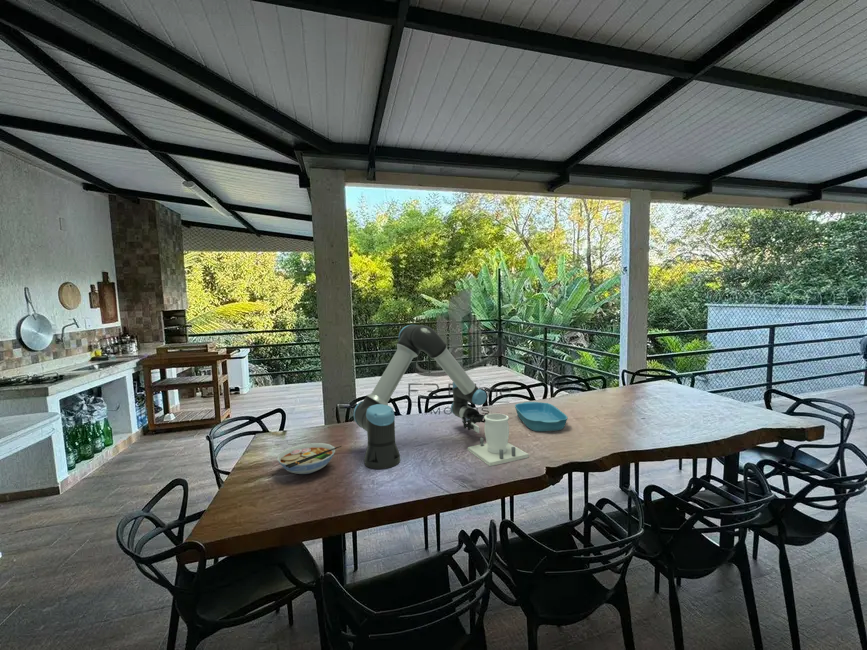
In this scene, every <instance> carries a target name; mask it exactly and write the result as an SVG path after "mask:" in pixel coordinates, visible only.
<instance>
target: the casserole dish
mask: <svg viewBox="0 0 867 650" xmlns="http://www.w3.org/2000/svg"><path fill="white" fill-rule="evenodd" d="M514 407H515V410H516V411H515V412H516V415H517V416H518V417H519V419H520V420H521V421H522V422H523V424H524V425H525V426H526V427H527V428H528V429H530V430H531V431H533V432H555V431H556V432H557V431H561V430H563V429H564V428H565V426H566V425H567V421H568V416H567V414H566V413H564V412H563V411H561V410H560V409H559V408H557V406H555V405H554V404H552V403H548V402H539V401H524V402H520V403H516V404H515V405H514Z"/></svg>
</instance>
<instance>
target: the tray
mask: <svg viewBox="0 0 867 650" xmlns="http://www.w3.org/2000/svg"><path fill="white" fill-rule="evenodd" d="M484 442H485V439H484V437H480V438H479V444H476V445H471V446H468V447H467V451H468V452H470V453H471V454H473V456H475V457H477V458H478V459H479V460H481V461H482V462H483V463H485V464H486V465H487V466H488V467H494V466H497V465H501V464H505V463H510V462H511V463H512V462H515V461H519V460H524V459H529V453H528V452H525V451H523V450H522V449H521V448H519V447H516V446H515V445H513V444H511V443H509V442H508V443H507V446H506V448H507V451H506V452H505V453H503V450H502V449H500V450H499V454H495V453H491V452H489V451H488V450H487V448H488V445H487V442H485V443H484Z"/></svg>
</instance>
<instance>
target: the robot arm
mask: <svg viewBox="0 0 867 650" xmlns="http://www.w3.org/2000/svg"><path fill="white" fill-rule="evenodd" d="M396 348H397V349H396V351H395V352H394V354H393V356H392V358H391V360H390V361H389V363H388V365H387V366H386V368H385V369H384V372H383V373H382V375H381V376H380V378H379V380H378V381H377V383H376V385H375V386H374V388H373V390H372V392H371V393H368V394H366V395H365V398H364V399H363V401H359V402H358V403H357V404H356V405H355V407H354V410H353V414H352V415H353V419H354V422H355V423H356V425H357V426H358V427H360V428H361V429H363V430H364V431H366V433H367V434H366V435H367V446H366V447H367V448H366V451H365V454H364V459H363V461H364V465H365V466H366V467H367V468H370V469H373V470H374V469H375V470H381V469H382V470H384V469H389V468H392V467H396V466H397V465H398V464H399V463H400V462H401V455H400V451H399V449H398V446H397V442H396V427H395V426H396V424H395V423H396V421H395V417H396V415H395V411H394V408H393V407H392V406H390V405H389V404H388V402H389V401H390V399H391V397H392V396H393V394H394V392H395V390H396V388H397V387H398V385H399V383H400V381H401V380H402V378H403V376H404V375H405V373H406V371H407V370H408V368H409V367H410V364H411V363H412V360H413V359H414V358H418V356H419V355H420V354H421V351H422V352H424V353H425V354H426V355H427V356H428V357H429V358H430V359H434V361H435V362H436V363H437V365H439V367H440V368H441V369H442V370H443V371H444V373H445V375H447V377H448V378H449V379H450V380H451V381H452V397H453V402H452V403H451V405H450V411H451V413H452V414H453V415H454V416H456V417H458V418H460V419H461V422H462V425H463V429H467V430H468V431H470V430H472V431H474V432H476V433H478V434H479V433H480V426H479V425H477V423H482V424H483V423H484V424H485V419H484V416H485V415H488V414H489V413H487V412H485V413H484V414H481V413H480V412H479V410H478V409H475V408H473V407H471V405H469V404H470V403H471V404H472V405H477V406H482V405H483V404H485V403H486V401H487V398H488V397H487V393H486V391H485V390H482V389H481V388H479V387H478V386H477V385H476V384H475V382H474V381H473V379H471V378H470V376H469V375H468V373H467V372H466V371H465V370H464V368H463V366H461V365H460V363H459V362H458V361H457V360H456V358H455V356H453V354H452V353H451V352H450V351H449V350H448V345H447V344H446V342H445V341H444V339H443V338H442V337H441V336H440V335H439V334H438V333H437V332H436V330H435V329H433V328H432V327H430V326H428V325H421V324H419V325H418V324H408V325H406V326H404V327H402V328H401V330H399V333H398V341H397V343H396Z"/></svg>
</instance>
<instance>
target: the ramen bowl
mask: <svg viewBox="0 0 867 650" xmlns="http://www.w3.org/2000/svg"><path fill="white" fill-rule="evenodd" d="M341 447H342V445H341V446H340V445H339V446H336V447H335V446H334V445H331V444H330V443H325V442H312V443H303V444H298V445H296V446H292V447H289V448H287V449H284V450H283V451H281V452H280V453H279V454H278V455H277V458H276V460H277V462H278V464H280V465H281V467H283V469H284V470H286V471H287V472H289V473H292V474H297V475H298V474H299V475H309V474H310V475H311V474H313V473H314V472H317V471H319V470H322V469H323V468H324V467H326V466H327V465H328V464H329V463H330V461H331V460H332V458H333V457H334V456H335V455H334V454H335V453H336V450H337V449H339V448H341Z"/></svg>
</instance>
